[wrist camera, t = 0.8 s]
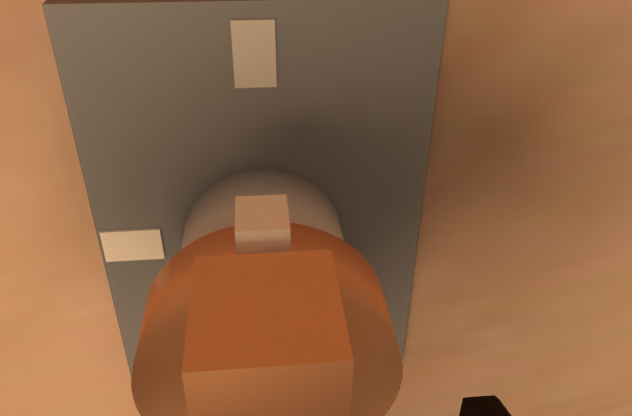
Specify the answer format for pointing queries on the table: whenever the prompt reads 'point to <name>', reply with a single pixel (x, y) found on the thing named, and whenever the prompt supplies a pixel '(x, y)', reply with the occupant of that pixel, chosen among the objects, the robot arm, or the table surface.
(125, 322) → the post base
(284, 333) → the bayonet cap
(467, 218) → the table surface
